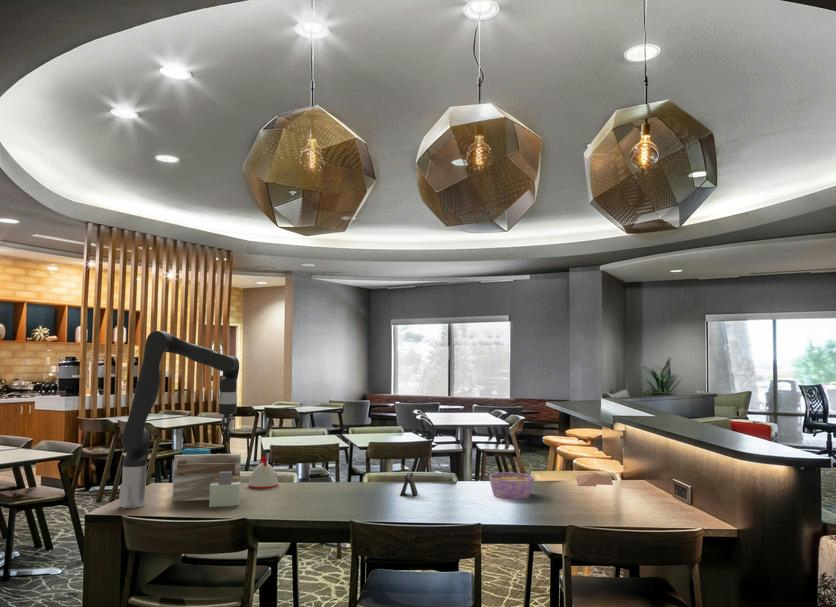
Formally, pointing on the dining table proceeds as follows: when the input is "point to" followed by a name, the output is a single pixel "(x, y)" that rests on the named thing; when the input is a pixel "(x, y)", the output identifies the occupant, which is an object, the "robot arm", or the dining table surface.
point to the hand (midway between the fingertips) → (226, 440)
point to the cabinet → (225, 490)
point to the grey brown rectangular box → (201, 474)
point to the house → (593, 480)
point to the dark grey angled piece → (412, 485)
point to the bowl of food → (511, 485)
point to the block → (195, 451)
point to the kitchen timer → (263, 476)
